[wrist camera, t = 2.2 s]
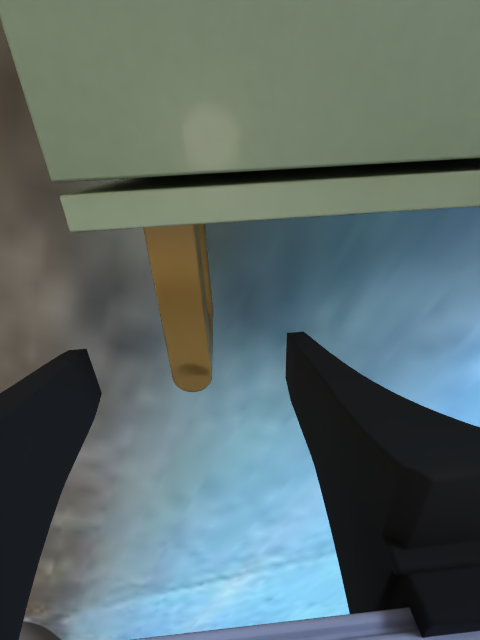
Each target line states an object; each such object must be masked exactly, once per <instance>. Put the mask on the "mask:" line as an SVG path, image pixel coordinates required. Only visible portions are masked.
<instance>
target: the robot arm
mask: <svg viewBox="0 0 480 640" xmlns="http://www.w3.org/2000/svg"><path fill="white" fill-rule="evenodd" d="M286 381H287V386H288V390H289V395H290V399H291V402H292V405H293V408H294V411H295V413H296V416H297V419H298V421H299V424H300V427H301V430H302V432H303V435H304V438H305V440H306V443H307V446H308V448H309V451H310V454H311V456H312V460H313V463H314V466H315V469H316V473H317V477H318V480H319V484H320V488H321V492H322V496H323V499H324V503H325V508H326V512H327V516H328V520H329V524H330V528H331V532H332V536H333V540H334V545H335V549H336V553H337V558H338V562H339V566H340V571H341V575H342V580H343V584H344V589H345V593H346V598H347V603H348V607H349V612H350V614H348V615H339V616H331V617H322V618H313V619H305V620H296V621H288V622H279V623H270V624H262V625H253V626H244V627H236V628H227V629H218V630H210V631H201V632H193V633H184V634H175V635H167V636H158V637H149V638H141V639H132V640H480V427H477V426H474V425H471V424H468V423H465V422H462V421H459V420H457V419H454V418H451V417H449V416H446V415H443V414H441V413H438V412H436V411H433V410H431V409H428V408H426V407H424V406H421V405H419V404H417V403H415V402H413V401H410V400H408V399H406V398H404V397H402V396H400V395H397V394H395V393H393V392H391V391H390V390H388V389H386V388H384V387H382V386H380V385H379V384H377V383H375V382H373V381H371V380H370V379H368V378H366V377H365V376H363V375H361V374H360V373H358V372H357V371H355V370H354V369H352V368H351V367H349V366H348V365H346V364H345V363H343V362H342V361H341V360H339V359H338V358H337V357H335V356H334V355H332V354H331V353H330V352H329V351H327V350H326V349H325V348H323V347H322V346H321V345H320V344H318V343H317V342H316V341H315V340H313V339H312V338H311V337H310V336H308V335H307V334H306V333H304V332H295V333H287V348H286ZM101 394H102V393H101V390H100V387H99V384H98V381H97V378H96V375H95V372H94V370H93V367H92V364H91V361H90V358H89V355H88V352H87V349H79V350H69V351H67V352H65V353H63V354H61V355H59V356H58V357H56V358H55V359H53V360H51V361H50V362H48V363H47V364H45V365H44V366H42V367H41V368H39V369H38V370H36V371H34V372H33V373H31V374H30V375H28V376H27V377H25V378H24V379H22V380H21V381H19V382H18V383H16V384H15V385H13V386H11V387H10V388H8V389H6V390H5V391H3V392H2V393H0V640H19V636H20V631H21V627H22V623H23V619H24V615H25V611H26V607H27V603H28V599H29V596H30V592H31V588H32V585H33V581H34V578H35V574H36V570H37V567H38V563H39V560H40V556H41V553H42V550H43V547H44V543H45V540H46V537H47V534H48V531H49V527H50V524H51V521H52V518H53V515H54V512H55V509H56V507H57V504H58V501H59V498H60V495H61V492H62V490H63V487H64V485H65V482H66V480H67V478H68V475H69V473H70V471H71V469H72V467H73V465H74V462H75V460H76V458H77V456H78V454H79V451H80V449H81V447H82V445H83V443H84V441H85V438H86V436H87V434H88V432H89V430H90V427H91V425H92V423H93V420H94V418H95V415H96V412H97V408H98V405H99V401H100V398H101Z"/></svg>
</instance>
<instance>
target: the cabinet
mask: <svg viewBox="0 0 480 640" xmlns="http://www.w3.org/2000/svg"><path fill="white" fill-rule="evenodd" d="M0 19H1V22H2V25H3V29H4V32H5V35H6V38H7V41H8V45H9V48H10V51H11V54H12V57H13V60H14V64H15V67H16V70H17V73H18V76H19V80H20V83H21V86H22V89H23V92H24V96H25V99H26V102H27V105H28V108H29V112H30V115H31V118H32V121H33V124H34V128H35V131H36V134H37V137H38V140H39V143H40V147H41V150H42V153H43V156H44V159H45V163H46V166H47V169H48V172H49V175H50V179H51V181H52V182H72V181H89V180H107V179H124V178H141V177H158V176H176V175H193V174H210V173H228V172H245V171H262V170H279V169H297V168H314V167H331V166H348V165H366V164H383V163H400V162H418V161H435V160H452V159H469V158H480V0H0Z"/></svg>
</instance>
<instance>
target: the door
mask: <svg viewBox="0 0 480 640" xmlns="http://www.w3.org/2000/svg"><path fill="white" fill-rule="evenodd" d="M60 200H61V204H62V207H63V210H64V213H65V217H66V220H67V223H68V226H69V230H70V232H86V231H101V230H117V229H133V228H143V229H144V234H145V239H146V244H147V249H148V254H149V259H150V265H151V270H152V275H153V280H154V285H155V290H156V295H157V300H158V306H159V311H160V316H161V321H162V326H163V331H164V336H165V341H166V346H167V352H168V357H169V362H170V367H171V372H172V377H173V381H174V383H175V384H176V385H177V386H178V387H179V388H180V389H182V390H184V391H188V392H197V391H201V390H203V389H205V388H206V387H207V386H208V385H209V384H210V382H211V380H212V352H213V301H212V291H211V281H210V272H209V262H208V252H207V242H206V232H205V224H211V223H227V222H242V221H258V220H273V219H289V218H305V217H320V216H336V215H352V214H367V213H383V212H399V211H414V210H430V209H446V208H461V207H477V206H480V158H469V159H452V160H435V161H418V162H400V163H383V164H366V165H348V166H331V167H314V168H297V169H279V170H262V171H245V172H228V173H210V174H193V175H176V176H158V177H141V178H127V179H123V180H119V181H115V182H111V183H107V184H102V185H98V186H94V187H90V188H86V189H82V190H78V191H74V192H70V193H66V194H62V195H60Z"/></svg>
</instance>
